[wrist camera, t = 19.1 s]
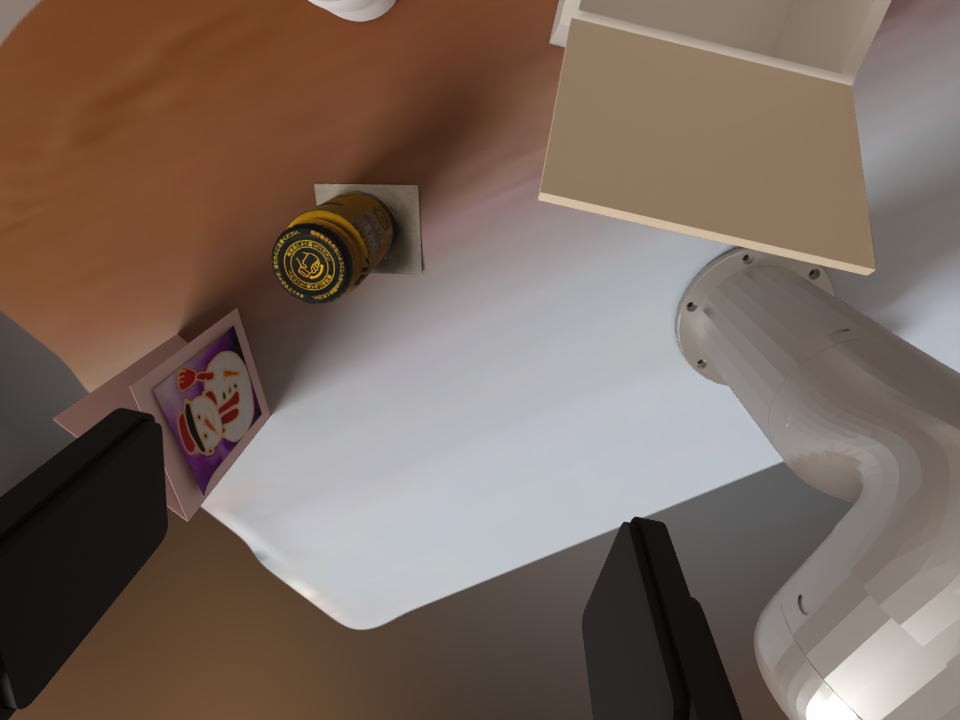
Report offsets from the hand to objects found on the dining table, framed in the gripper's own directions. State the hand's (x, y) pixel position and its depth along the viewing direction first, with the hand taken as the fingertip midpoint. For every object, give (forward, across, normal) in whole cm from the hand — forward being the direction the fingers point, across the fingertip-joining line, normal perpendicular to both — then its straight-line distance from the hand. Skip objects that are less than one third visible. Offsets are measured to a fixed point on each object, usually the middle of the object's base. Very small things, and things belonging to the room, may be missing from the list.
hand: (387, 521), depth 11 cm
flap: (+20, -10, -9) cm, 24 cm away
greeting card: (+36, +21, +20) cm, 47 cm away
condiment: (+37, +9, +4) cm, 38 cm away
